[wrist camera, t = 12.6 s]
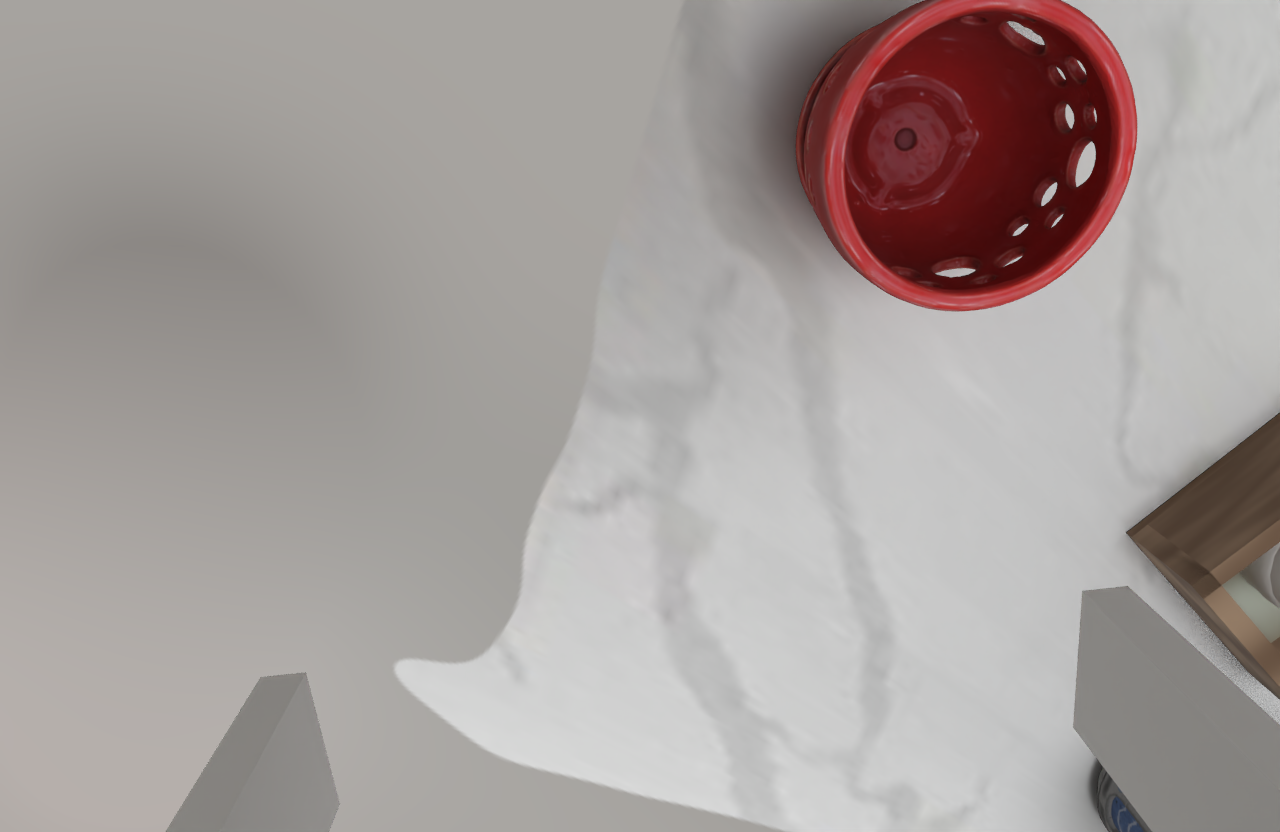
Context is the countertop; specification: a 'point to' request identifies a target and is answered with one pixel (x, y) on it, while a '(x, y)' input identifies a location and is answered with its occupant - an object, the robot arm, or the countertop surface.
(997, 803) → the countertop surface
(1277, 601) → the bottle
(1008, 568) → the countertop surface
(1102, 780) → the beverage bottle
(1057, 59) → the plant pot
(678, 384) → the countertop surface
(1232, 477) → the wooden stand
